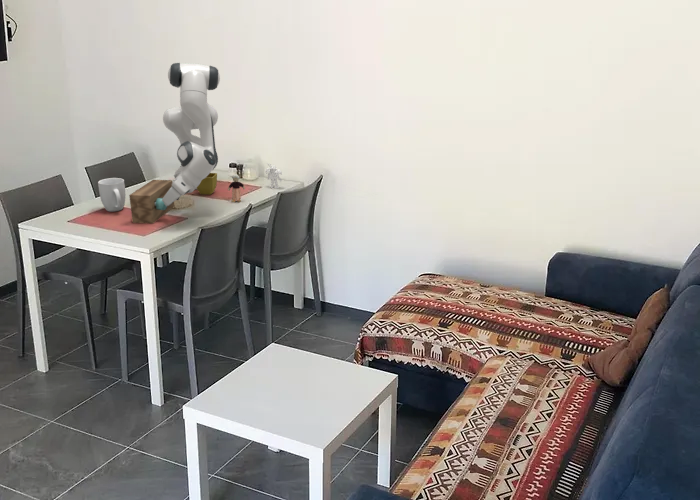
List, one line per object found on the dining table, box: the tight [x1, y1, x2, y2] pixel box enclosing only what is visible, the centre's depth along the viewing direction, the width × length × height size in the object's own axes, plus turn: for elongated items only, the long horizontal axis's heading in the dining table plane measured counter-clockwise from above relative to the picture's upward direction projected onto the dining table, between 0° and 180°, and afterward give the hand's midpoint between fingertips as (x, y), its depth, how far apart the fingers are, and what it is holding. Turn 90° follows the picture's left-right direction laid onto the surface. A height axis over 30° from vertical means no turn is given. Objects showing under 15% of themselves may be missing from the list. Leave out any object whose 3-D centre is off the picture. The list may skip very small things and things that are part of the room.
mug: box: [97, 177, 126, 212], centre depth 332 cm, size 15×11×13 cm
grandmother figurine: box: [227, 173, 246, 203], centre depth 344 cm, size 8×4×13 cm, turn 112°
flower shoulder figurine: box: [264, 163, 283, 189], centre depth 365 cm, size 9×4×12 cm, turn 61°
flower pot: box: [196, 172, 218, 195], centre depth 357 cm, size 9×9×9 cm
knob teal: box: [154, 198, 167, 210], centre depth 319 cm, size 8×5×5 cm, turn 81°
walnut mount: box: [129, 179, 176, 224], centre depth 327 cm, size 9×25×12 cm, turn 171°
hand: (166, 204), depth 318 cm, fingers closed, pressing on knob teal
